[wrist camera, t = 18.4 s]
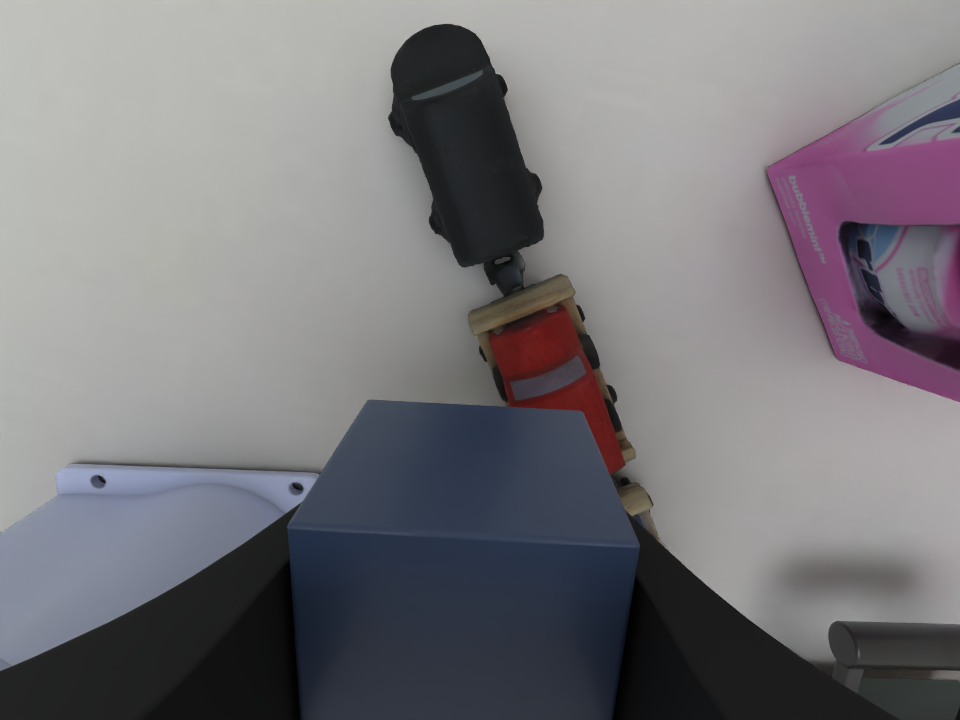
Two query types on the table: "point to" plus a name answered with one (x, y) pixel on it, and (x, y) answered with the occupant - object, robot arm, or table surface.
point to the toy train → (502, 238)
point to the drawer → (899, 665)
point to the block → (461, 569)
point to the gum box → (885, 234)
